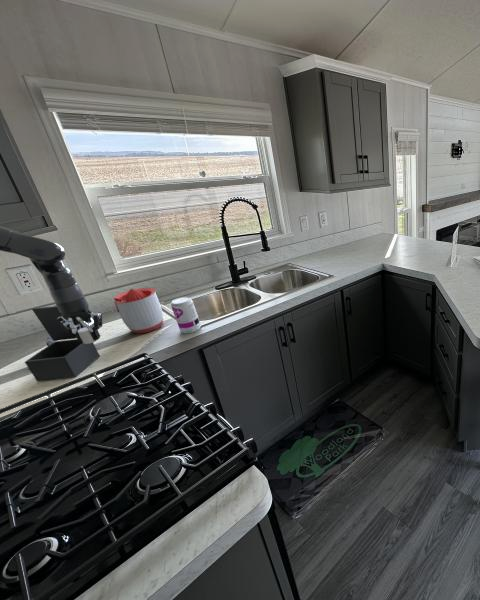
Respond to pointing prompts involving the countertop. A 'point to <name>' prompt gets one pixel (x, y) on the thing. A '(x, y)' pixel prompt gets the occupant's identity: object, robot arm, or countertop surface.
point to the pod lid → (53, 323)
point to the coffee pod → (85, 335)
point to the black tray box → (62, 360)
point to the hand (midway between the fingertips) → (90, 339)
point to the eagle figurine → (49, 341)
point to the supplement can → (185, 315)
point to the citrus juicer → (139, 309)
